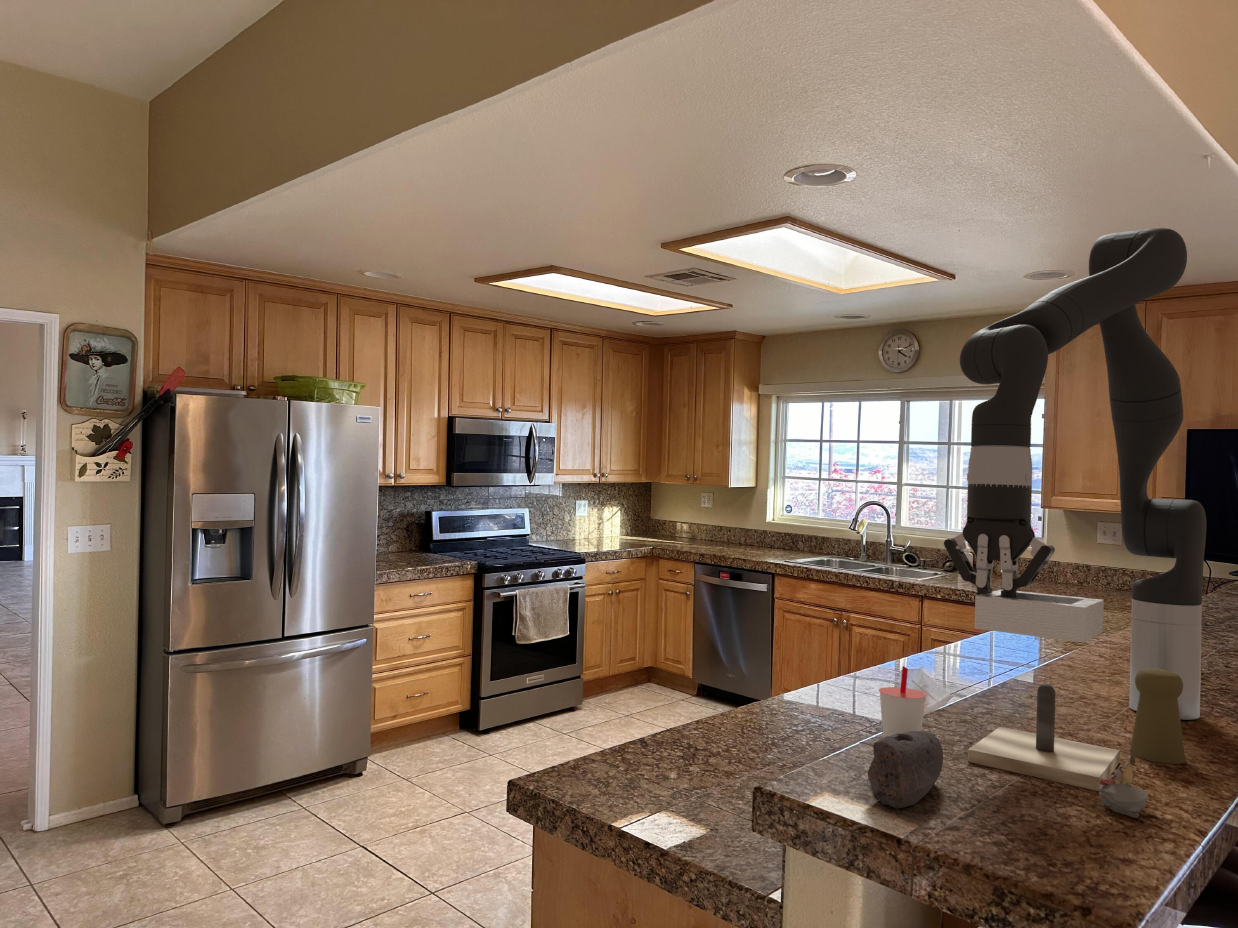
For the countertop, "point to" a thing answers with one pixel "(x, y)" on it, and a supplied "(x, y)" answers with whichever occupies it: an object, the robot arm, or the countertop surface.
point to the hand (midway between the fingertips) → (995, 617)
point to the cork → (1158, 717)
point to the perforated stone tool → (905, 767)
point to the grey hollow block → (1040, 615)
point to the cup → (901, 708)
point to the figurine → (1122, 792)
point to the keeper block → (1045, 751)
